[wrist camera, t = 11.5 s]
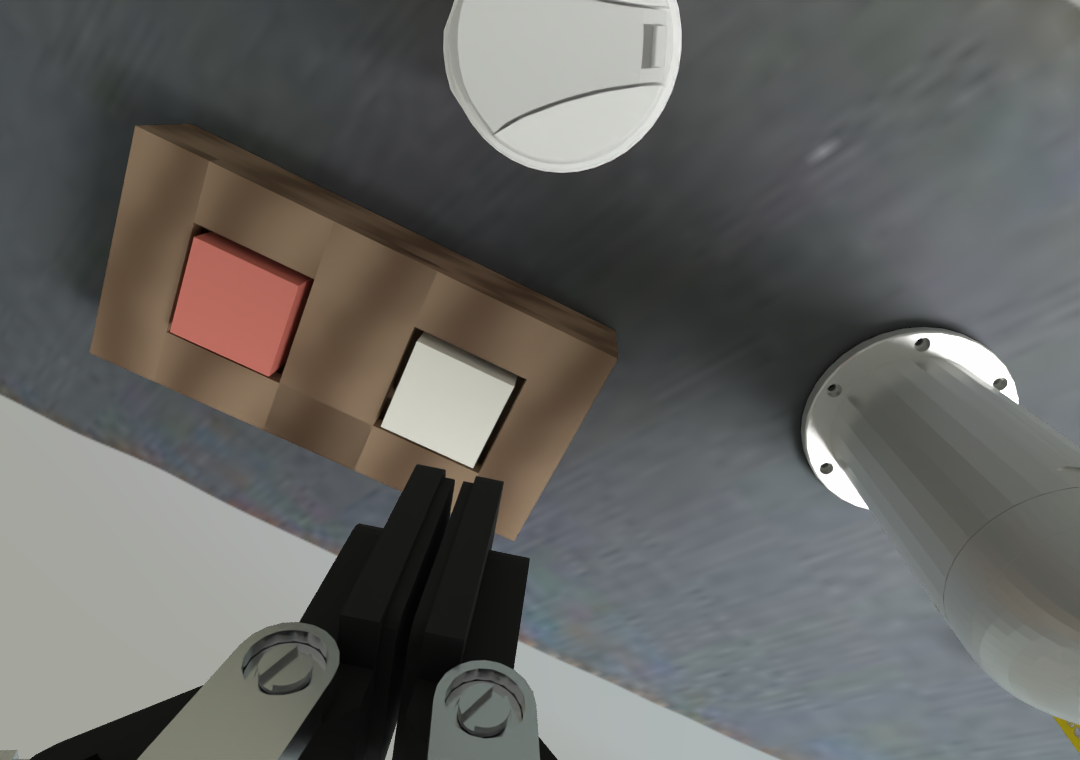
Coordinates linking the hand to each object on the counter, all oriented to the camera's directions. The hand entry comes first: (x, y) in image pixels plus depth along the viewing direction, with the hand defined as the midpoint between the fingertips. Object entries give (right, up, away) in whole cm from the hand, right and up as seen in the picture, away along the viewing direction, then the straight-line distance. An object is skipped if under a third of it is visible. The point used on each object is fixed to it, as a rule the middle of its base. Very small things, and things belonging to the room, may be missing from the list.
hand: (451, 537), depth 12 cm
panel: (-9, +6, +30) cm, 32 cm away
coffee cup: (+3, +20, +23) cm, 31 cm away
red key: (-15, +8, +27) cm, 32 cm away
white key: (-3, +3, +28) cm, 28 cm away
